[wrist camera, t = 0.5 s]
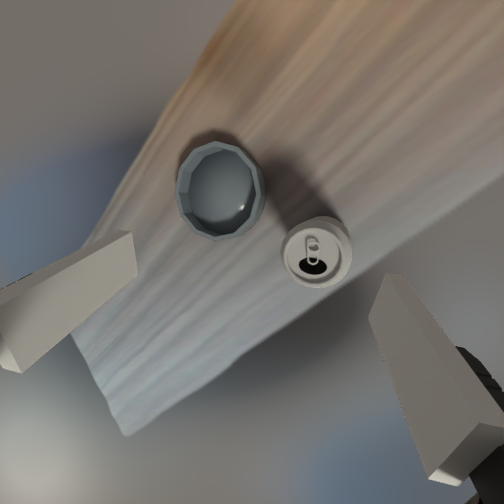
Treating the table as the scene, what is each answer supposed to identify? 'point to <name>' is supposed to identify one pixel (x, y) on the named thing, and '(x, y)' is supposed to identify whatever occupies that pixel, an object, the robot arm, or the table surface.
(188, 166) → the dish
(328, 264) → the can
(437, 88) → the table surface
